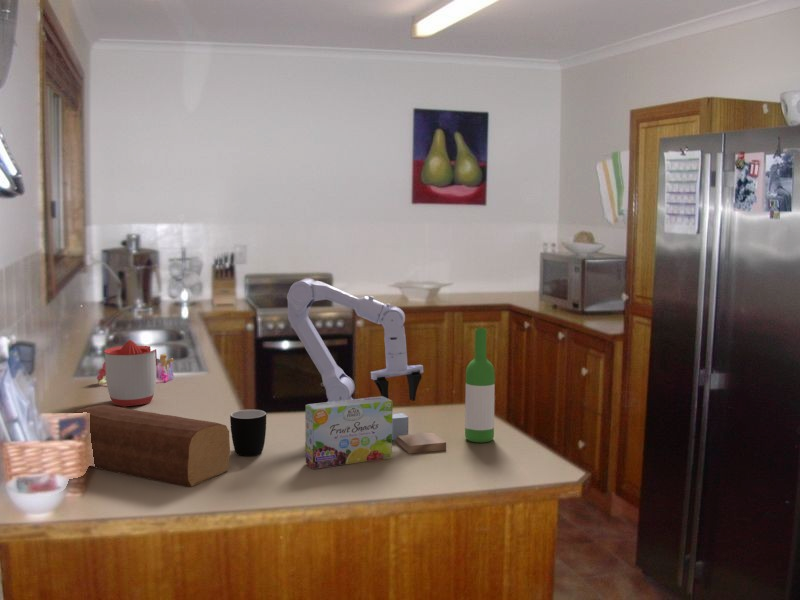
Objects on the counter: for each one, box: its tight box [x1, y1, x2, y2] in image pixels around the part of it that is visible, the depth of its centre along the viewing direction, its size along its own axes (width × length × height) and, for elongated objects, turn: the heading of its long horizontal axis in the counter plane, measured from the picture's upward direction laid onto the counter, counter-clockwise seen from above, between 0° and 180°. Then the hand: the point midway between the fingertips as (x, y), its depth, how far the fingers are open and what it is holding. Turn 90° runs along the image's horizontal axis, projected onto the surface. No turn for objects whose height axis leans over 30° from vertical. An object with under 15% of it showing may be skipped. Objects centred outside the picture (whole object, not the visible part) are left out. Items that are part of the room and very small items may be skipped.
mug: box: [229, 409, 267, 457], centre depth 219 cm, size 12×9×10 cm
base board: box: [396, 431, 447, 455], centre depth 224 cm, size 10×10×2 cm
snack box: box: [304, 396, 394, 470], centre depth 211 cm, size 21×6×15 cm, turn 117°
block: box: [392, 412, 409, 441], centre depth 232 cm, size 4×4×6 cm
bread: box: [73, 404, 231, 488], centre depth 206 cm, size 16×39×13 cm, turn 62°
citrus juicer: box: [103, 339, 162, 408], centre depth 270 cm, size 16×17×20 cm
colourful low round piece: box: [96, 353, 175, 387], centre depth 303 cm, size 25×24×9 cm
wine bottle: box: [464, 327, 496, 444], centre depth 229 cm, size 8×8×30 cm
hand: (399, 402), depth 232 cm, fingers open, 7 cm apart
